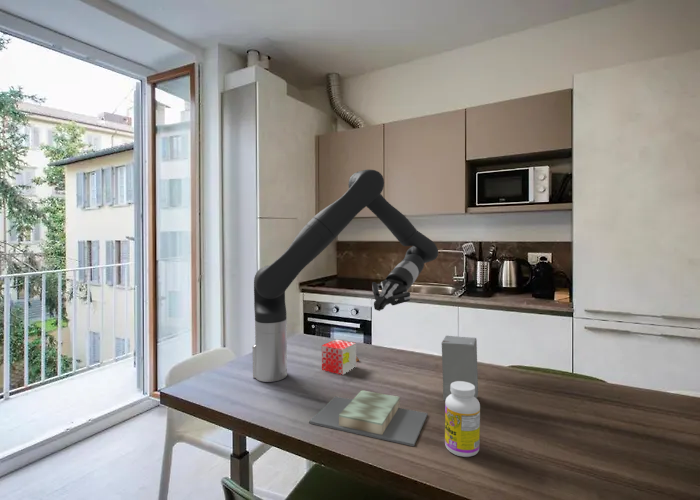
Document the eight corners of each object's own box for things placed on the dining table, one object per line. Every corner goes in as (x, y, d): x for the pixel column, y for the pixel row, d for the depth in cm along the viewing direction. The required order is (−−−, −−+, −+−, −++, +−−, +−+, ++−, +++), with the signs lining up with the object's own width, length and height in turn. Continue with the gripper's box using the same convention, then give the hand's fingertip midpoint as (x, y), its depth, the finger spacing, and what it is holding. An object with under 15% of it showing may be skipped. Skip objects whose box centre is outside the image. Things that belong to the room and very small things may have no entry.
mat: (309, 423, 85) (309, 421, 85) (335, 398, 97) (335, 396, 97) (413, 446, 75) (413, 444, 75) (427, 415, 88) (427, 413, 88)
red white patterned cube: (342, 375, 114) (342, 349, 113) (321, 370, 118) (321, 345, 117) (356, 367, 120) (356, 342, 120) (336, 362, 125) (335, 339, 124)
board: (361, 399, 96) (338, 425, 83) (361, 390, 95) (338, 414, 83) (399, 406, 92) (382, 434, 79) (399, 396, 92) (382, 423, 79)
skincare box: (478, 396, 98) (478, 336, 98) (475, 407, 92) (476, 344, 91) (445, 390, 102) (446, 333, 101) (440, 401, 95) (441, 340, 95)
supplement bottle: (440, 440, 78) (440, 379, 77) (471, 438, 78) (471, 378, 78) (451, 459, 71) (452, 393, 70) (485, 457, 72) (486, 391, 71)
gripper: (383, 261, 118) (355, 290, 106) (423, 272, 112) (398, 303, 99) (383, 281, 122) (357, 311, 109) (422, 292, 116) (398, 325, 103)
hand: (376, 307), depth 104 cm, fingers closed
